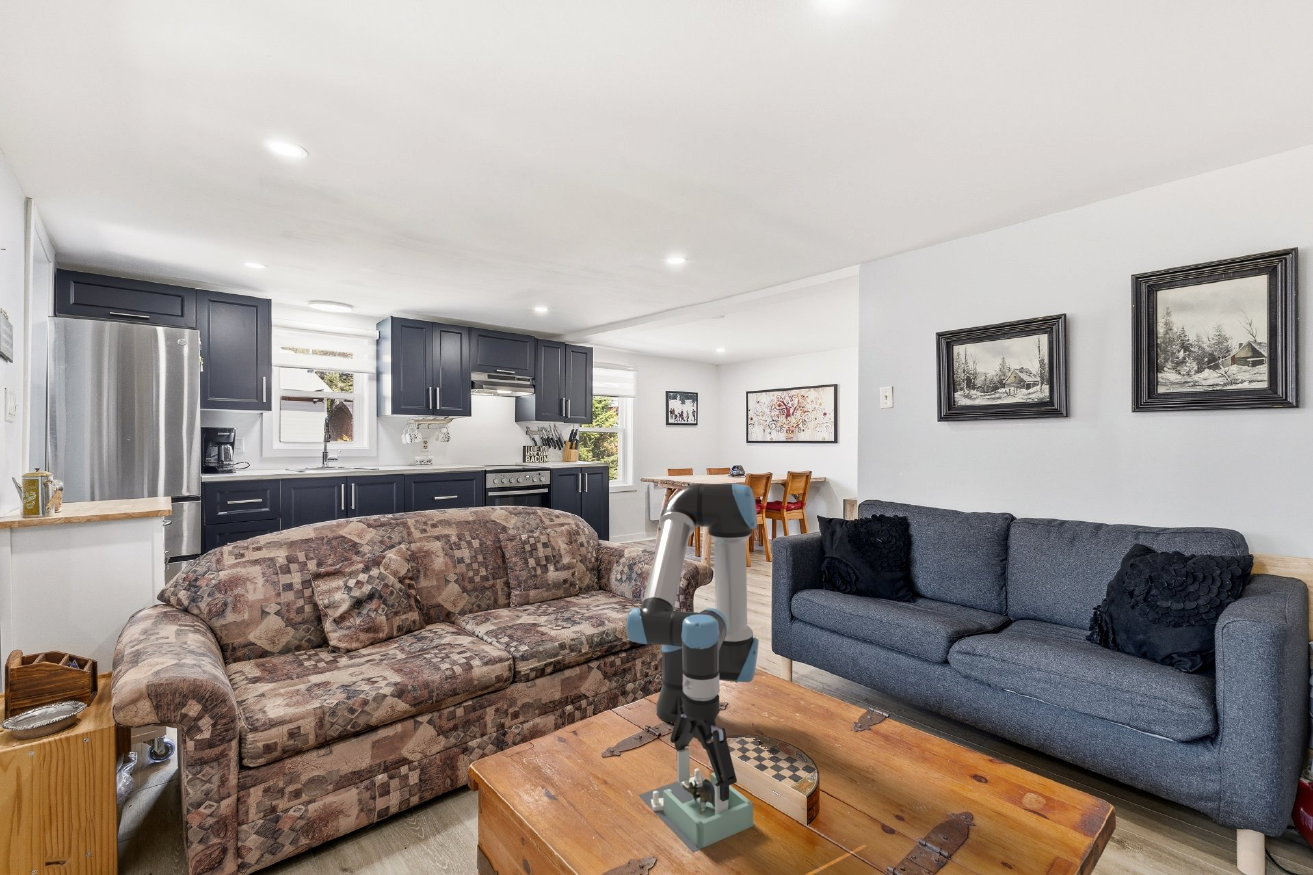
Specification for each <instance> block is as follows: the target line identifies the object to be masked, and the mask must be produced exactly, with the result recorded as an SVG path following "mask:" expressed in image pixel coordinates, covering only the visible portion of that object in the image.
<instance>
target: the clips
mask: <svg viewBox="0 0 1313 875" xmlns="http://www.w3.org/2000/svg"><path fill="white" fill-rule="evenodd" d="M694 775H695V776H694V777H691V776H690V777H691V778H690V779H689V780H686V781H684V782H681V783H680V785H681V786H682V785H684V786H685V787H687V788H689V783H690V782H692V783H693V786H694V785H695V782H694V780H695V781H696V783H697V788H698V787H700V786H702V785H703V784H702V779H701V768H694ZM668 790H669V791H670V792H671V793H672V790H670V789H668ZM651 805H652V808H653V810H652V812H654V811H659V810H663V798H659V792H658V791H653V799H651Z"/></svg>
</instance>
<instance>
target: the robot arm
mask: <svg viewBox="0 0 1313 875" xmlns="http://www.w3.org/2000/svg"><path fill="white" fill-rule="evenodd" d="M756 503H757V502H756V499H755V494H754V491H753V489H752V488H751V487H750V486H749V485H747V484H740V483H739V484H738V483H692V484H690V485H686V486H685V487H683V488H681V489H679V490H678V491H677V492H675V493H674V494H673V495H672V496H671V497H670V499H669V500H668V501H667V502H666V504H665V505H664V506H663V507H664V508H663V509H662V511H661V514H660V518H659V520H658V521H659V522H658V524H659V526H658V527H659V528H660V532H659V536H658V540H657V543H656V544H657V545H656V548H655V552H654V556H653V560H652V564H651V568H650V572H649V575H648V580H647V582H646V583H647V584H646V587H645V591H644V594H643V595H644V596H643V598H642V603H641V606H640V607H633V608H631V609H630V611H629V612H628V613H627V619H626V626H625V627H626V629H625V631H626V635H627V638H628V640H629V641H630V642H633V643H638V644H643V645H658V646H661V656H662V657H661V663H662V664H661V665H662V667H661V668H662V670H661V671H662V673H661V674H662V685H661V689H660V692H659V696H658V699H657V702H656V716H657V717H658V719H660V720H662V721H663V722H666V723H668V722H672V723H675V724H673V730H672V732H671V735H670V737H669V739H670V743H671V744H674V749H675V750H676V764H677V765H676V769H677V770H676V772H677V773H676V774H677V775H676V778H677V780H676V781H677V782H679V783H681V782H684V781H686V780H689V779H690V777H691V768H690V767H691V766H690V764H691V762H690V761H691V760H690V759H691V758H690V757H691V754H690V748H689V746H690V743H691V741H692V740H693V739H697V741H698V742H699V743H700V744H701V746H702V748H703V750H705V751H706V755H707V756H708V757H707V758H708V759H709V762H710V765H711V767H712V770H713V773H715V776H716V779H717V782H715V815H716V814H719V813H721V812H724V811H726V810H728V799H729V785H731V786H732V785H733V784H736V783H737V782H738V780H737V775H736V771H735V767H734V764H733V760H732V757H731V752H730V748H729V743H728V740H727V730H726V728H725V727H721V728H719V727H717V725H716V718H717V716H718V715H719V713H720V695H719V694H720V690H721V689H720V681H722V682H723V681H724V682H731V683H733V682H734V683H750V682H752V681H753V680H754V678H755V674H756V673H755V672H756V665H757V661H758V660H757V659H758V652H759V645H760V644H759V642H760V640H759V638H756V637H754V631H753V629H752V628H751V627H750V626H749V625H748V595H747V594H748V593H747V592H748V587H747V585H748V584H747V579H748V578H747V540H748V539H749V538H750V537H751V536H752V534H753V533H752V530H754V529H756V528H757V526H758V512H757V511H758V510H757V504H756ZM696 527H700V528H701V527H703V528H707V529H708V536H709V537H710V538H711V539H712V540H713V545H714V546H713V547H714V548H713V549H714V552H713V554H714V597H715V600H714V601H715V608H711V607H708V608H705V609H703V610H701V611H699V612H698V611H696V612H694V611H680V610H675V606H676V601H677V597H678V596H677V595H678V591H679V586H680V583H681V582H680V581H681V578H682V572H683V567H684V564H685V558H686V554H687V548H688V544H689V539H690V537H691V535H692V534H694V532H695V528H696ZM672 723H671V724H672ZM711 740H712V741H711Z"/></svg>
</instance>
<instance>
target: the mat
mask: <svg viewBox="0 0 1313 875" xmlns="http://www.w3.org/2000/svg"><path fill="white" fill-rule="evenodd" d="M694 776H695V774H694V775H690V778H691V777H694ZM700 787H702V786H700ZM700 787H698V788H700ZM667 789H670V790H672V794H673V795H674V796H675V797H676V798H677V799H678V800H679V801H680V802H681V803H682V804H683V803H686V802H689V801H691V800H694V798H693V795H692V794H691V793H690V792H689V791H686V790H684V788H683V787H682V786H681V785H680V783H679V782H677V780H675V781H674V782H670V783H668V784H665V785H663V786H662V785H661V786H660V787H657V788H654V789H651V790H649V791H646V792H643V793H640V794H638V797H639V798H640V799H641V800H642V801H643V802H644V804H646V805H647V806H648V807H649V809H651V811H653V808H652V805H651V799H653V791H658V792H659V798H663V791H664V790H667ZM696 794H697V795H698V794H700V793H698V792H696ZM653 812H654V814H656V816H657V817H658V818H659V819H660V820H661V821H662V822H663V823H664V824H665V825H666V826H667V828H669V829H670V830H671V831H672V833H673V834H675V836H677V838H678V839H679V840H680V841H681V842H682V843H683V844H684V845H685V847H687V848H688V849H689V850H690V851H691V852H692V853H695V852H697V851H699V850H701V849H703V848H701V849H699V848H698V847H697V846H696V845H695V844H694V843H693V842H692V841H691V840H690V839H689V838H688V837H687V836H686V835H685V834H684V833H683V832H682V831H681V830H680V829H679V828H678V827H677V826H676V825H675V824H674V823H673V822H672V821H671V820H670V819H669V818H668V817H667V816H666V815H665V814H664V813H663V810H659V811H653ZM755 826H756V824H754V823H753V826H752V827H753V828H754V827H755ZM752 827H751V828H752ZM748 829H749V828H747V829H745V830H744V831H746V830H748ZM738 833H740V832H738ZM738 833H736V834H738ZM736 834H735V835H736ZM732 836H733V835H731V836H729V837H732ZM729 837H728V838H729ZM725 839H726V838H724V839H722V840H725ZM722 840H721V841H722ZM718 842H719V841H717V842H715V843H718ZM715 843H714V844H715ZM711 845H712V844H710V845H708V846H711ZM708 846H707V847H708Z"/></svg>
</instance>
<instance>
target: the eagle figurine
mask: <svg viewBox="0 0 1313 875" xmlns="http://www.w3.org/2000/svg"><path fill="white" fill-rule="evenodd" d="M700 779H701V780H702V784H703V785H702V787H700V788H697V783H696V781H695V780H694V782H695V785H694V786H693V783H692V782H690V783H689V788H687V787H685V786H684V785H682V787H683V788H684V790H686V791H689V792H690V793H691V794H692V795H693V798H694V800H695V801H697V799H698V798H700V803H701V814H702V813H703V811H704V810H705V806H706V803H707V802H710V803H711V804H712V805H713V807H715V790H714V787H713V785H712V784H711V780H709V779H707V778H706V777H705V775H703V774H701V773H700ZM696 792H698V793H700V794H698V795H697V794H696ZM729 809H730V808H729V806H728V810H729Z"/></svg>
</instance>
